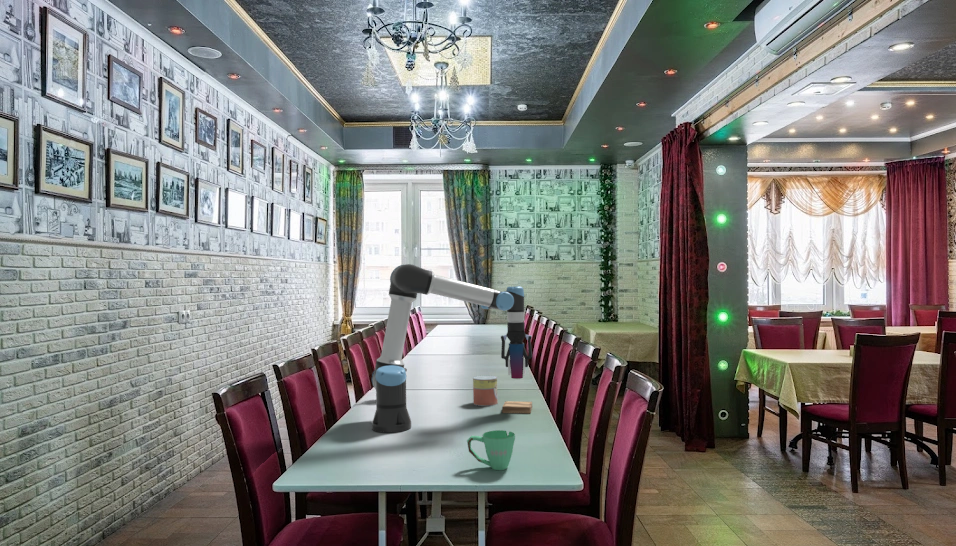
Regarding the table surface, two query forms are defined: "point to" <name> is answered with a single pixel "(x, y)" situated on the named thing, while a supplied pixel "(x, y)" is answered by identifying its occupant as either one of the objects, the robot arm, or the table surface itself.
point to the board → (517, 407)
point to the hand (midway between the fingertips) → (517, 374)
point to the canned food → (485, 390)
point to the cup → (516, 360)
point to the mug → (495, 448)
